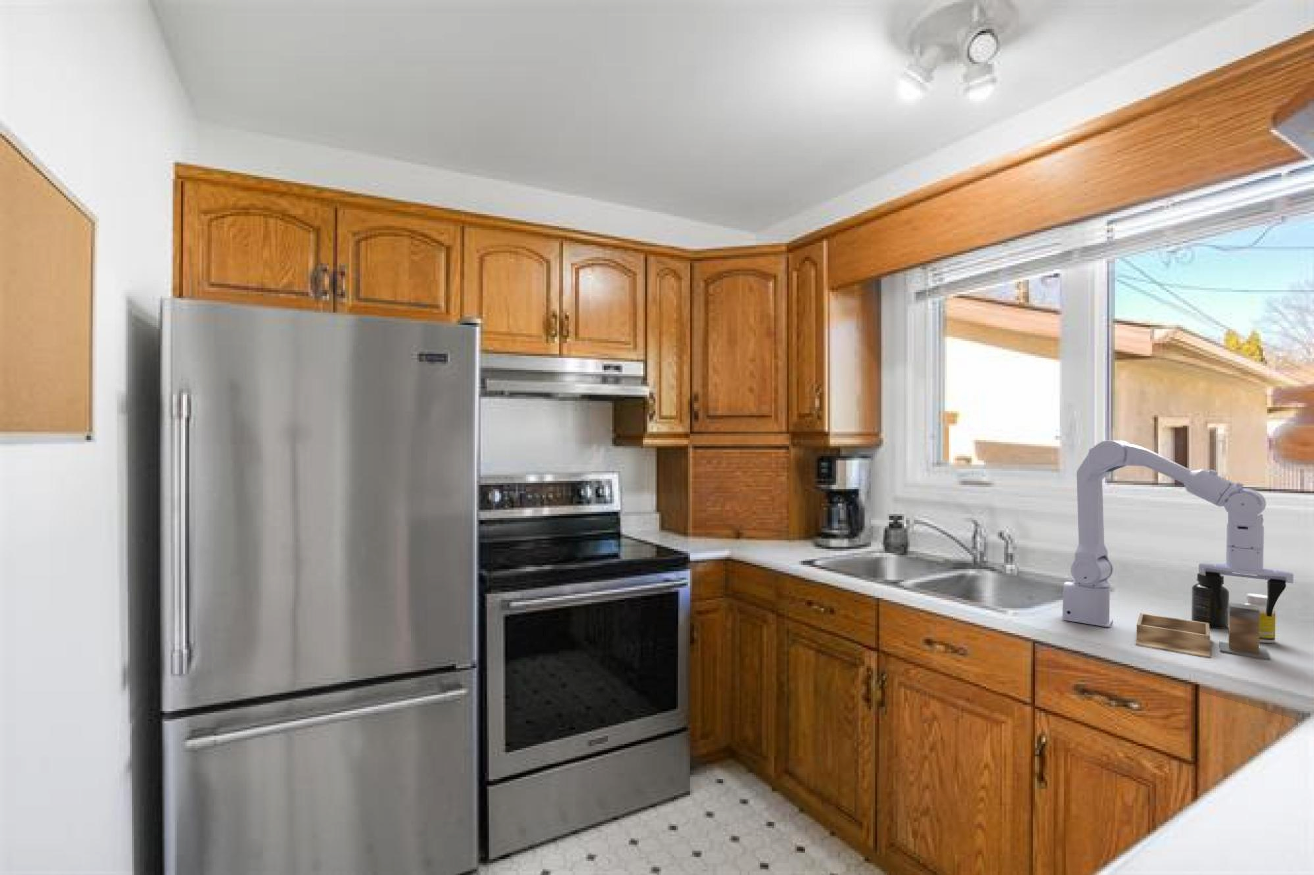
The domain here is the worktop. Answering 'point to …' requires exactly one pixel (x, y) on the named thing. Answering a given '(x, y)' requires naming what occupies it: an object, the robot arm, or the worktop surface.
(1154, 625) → the wooden tray
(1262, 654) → the pad
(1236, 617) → the block
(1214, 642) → the worktop surface
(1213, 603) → the supplement bottle
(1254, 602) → the supplement bottle
